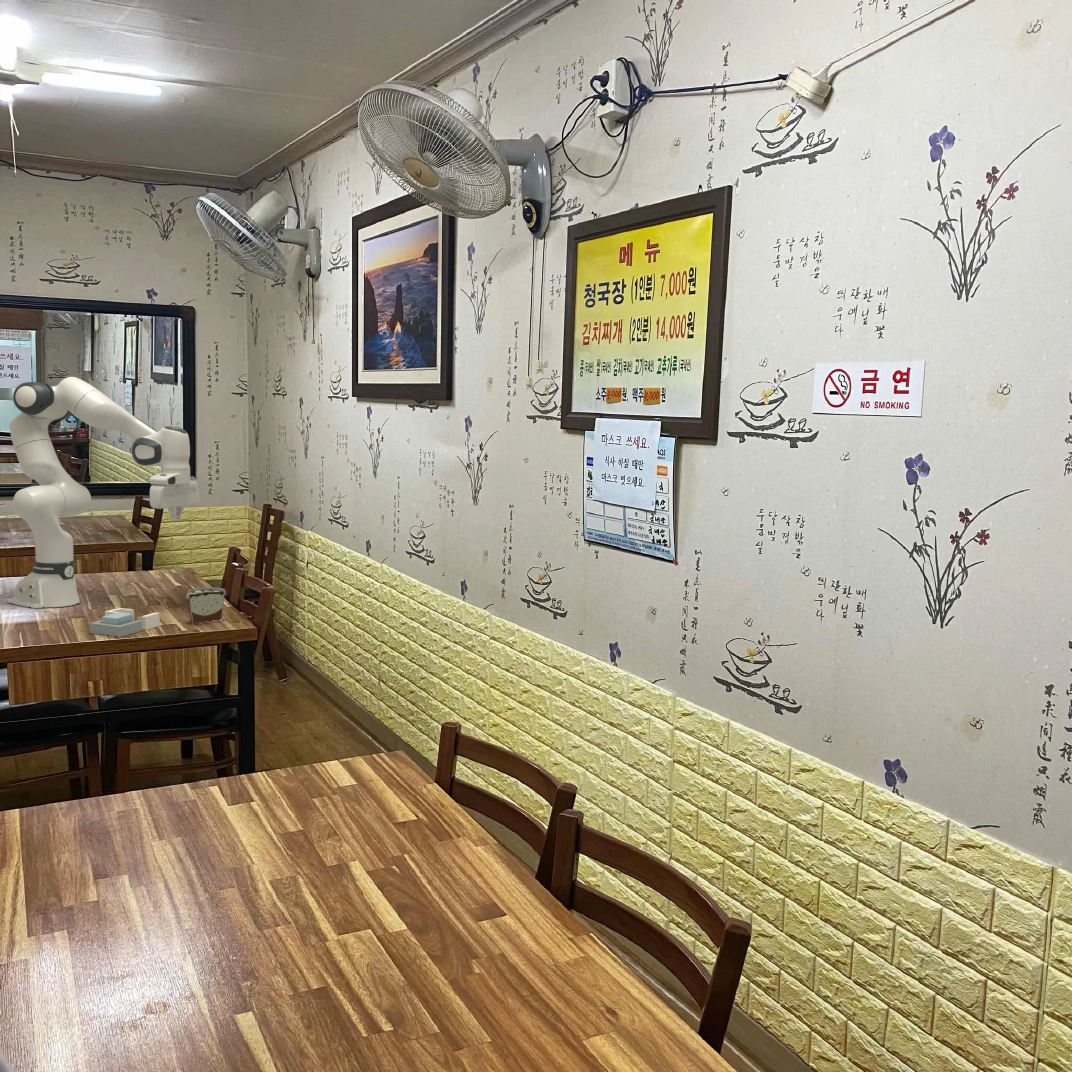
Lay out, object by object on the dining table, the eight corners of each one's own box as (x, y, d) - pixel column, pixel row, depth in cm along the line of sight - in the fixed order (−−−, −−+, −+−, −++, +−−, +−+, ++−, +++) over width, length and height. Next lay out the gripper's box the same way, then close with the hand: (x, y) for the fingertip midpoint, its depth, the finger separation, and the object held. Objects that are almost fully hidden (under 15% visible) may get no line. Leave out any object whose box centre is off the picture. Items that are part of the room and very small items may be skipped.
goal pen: (90, 633, 281) (89, 623, 281) (112, 627, 290) (112, 617, 289) (119, 637, 278) (119, 627, 277) (141, 630, 286) (141, 620, 286)
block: (102, 633, 282) (102, 616, 281) (119, 628, 288) (119, 612, 288) (116, 635, 280) (116, 618, 280) (133, 630, 287) (133, 614, 286)
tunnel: (105, 624, 292) (104, 611, 292) (119, 620, 298) (119, 607, 297) (145, 629, 288) (145, 616, 287) (159, 625, 293) (159, 612, 293)
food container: (218, 616, 309) (218, 585, 308) (226, 620, 304) (226, 588, 303) (179, 621, 301) (179, 589, 299) (187, 624, 296) (187, 592, 295)
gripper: (188, 475, 323) (188, 516, 324) (145, 478, 303) (146, 522, 305) (204, 476, 321) (204, 518, 322) (162, 480, 301) (162, 524, 303)
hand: (176, 520), depth 314 cm, fingers closed
